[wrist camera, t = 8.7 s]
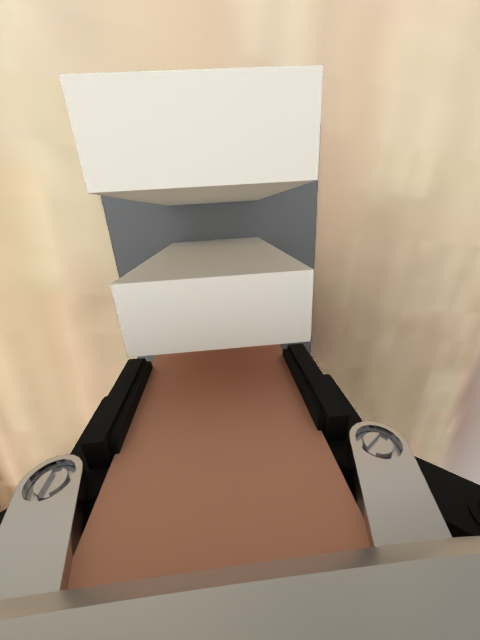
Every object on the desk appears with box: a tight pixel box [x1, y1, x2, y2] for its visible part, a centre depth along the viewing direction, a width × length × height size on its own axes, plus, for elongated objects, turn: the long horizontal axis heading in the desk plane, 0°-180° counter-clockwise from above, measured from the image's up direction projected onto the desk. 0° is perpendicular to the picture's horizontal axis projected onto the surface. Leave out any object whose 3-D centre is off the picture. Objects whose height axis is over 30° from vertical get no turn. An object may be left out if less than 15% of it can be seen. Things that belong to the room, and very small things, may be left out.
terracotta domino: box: [68, 344, 370, 589], centre depth 9 cm, size 2×5×10 cm, turn 94°
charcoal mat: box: [101, 124, 321, 363], centre depth 18 cm, size 12×21×1 cm, turn 3°
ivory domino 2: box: [110, 237, 314, 357], centre depth 12 cm, size 2×5×10 cm, turn 94°
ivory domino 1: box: [59, 65, 323, 206], centre depth 10 cm, size 2×5×10 cm, turn 94°
